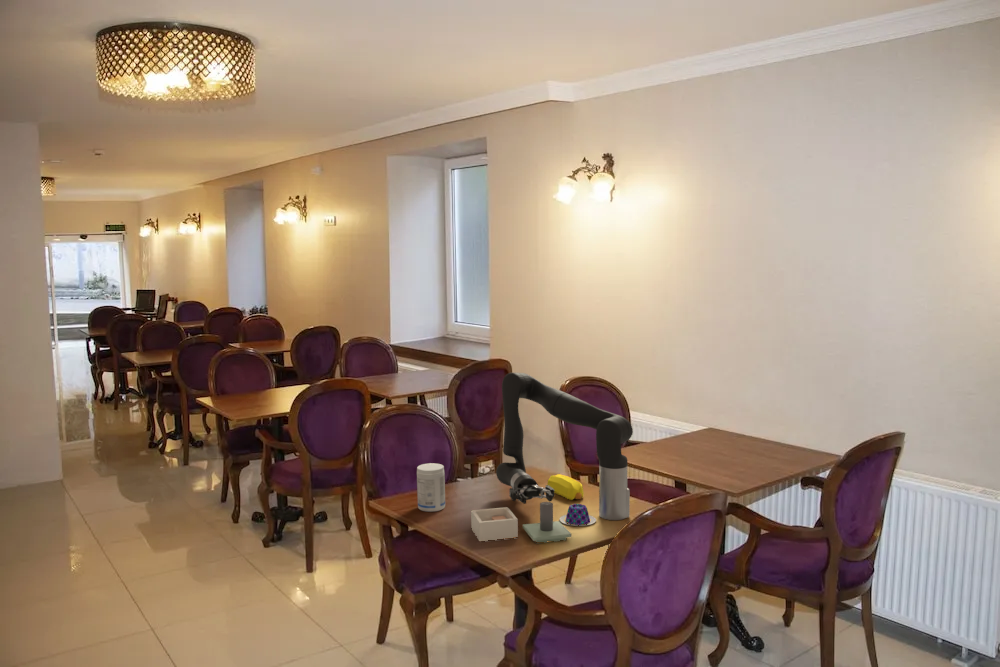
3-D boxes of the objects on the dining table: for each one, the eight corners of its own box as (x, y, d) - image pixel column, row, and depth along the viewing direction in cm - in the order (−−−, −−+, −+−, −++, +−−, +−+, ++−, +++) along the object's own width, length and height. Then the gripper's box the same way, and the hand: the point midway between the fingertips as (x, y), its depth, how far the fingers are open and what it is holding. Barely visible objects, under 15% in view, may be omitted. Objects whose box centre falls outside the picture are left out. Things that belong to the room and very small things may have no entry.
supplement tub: (435, 502, 272) (434, 461, 271) (450, 508, 265) (450, 466, 263) (412, 507, 266) (411, 466, 265) (427, 514, 259) (426, 471, 257)
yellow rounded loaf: (558, 487, 289) (542, 490, 285) (558, 470, 288) (542, 473, 284) (588, 499, 274) (571, 503, 270) (588, 481, 273) (571, 485, 269)
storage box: (507, 525, 247) (507, 507, 247) (517, 538, 236) (517, 519, 235) (471, 528, 245) (471, 510, 244) (479, 541, 233) (479, 522, 232)
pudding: (556, 516, 256) (556, 501, 256) (591, 514, 258) (591, 499, 257) (563, 529, 244) (563, 513, 244) (600, 527, 246) (600, 511, 245)
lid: (558, 528, 244) (558, 496, 243) (571, 541, 233) (571, 508, 232) (522, 532, 242) (522, 499, 241) (533, 545, 230) (533, 511, 229)
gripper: (503, 476, 258) (516, 490, 243) (543, 472, 262) (559, 486, 246) (503, 497, 259) (516, 513, 243) (544, 494, 263) (559, 509, 247)
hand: (538, 499), depth 245 cm, fingers open, 8 cm apart
